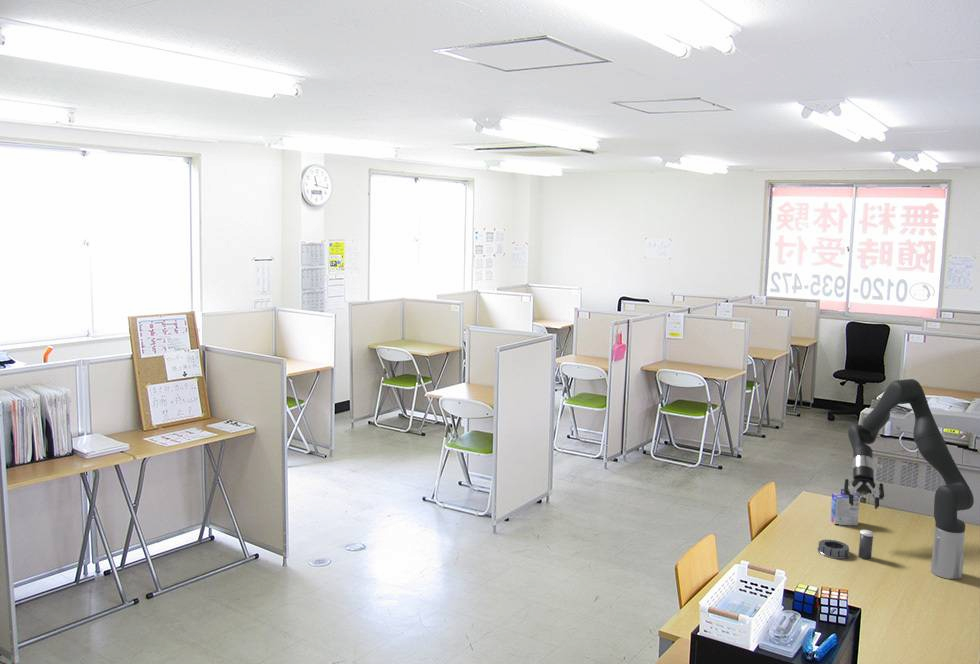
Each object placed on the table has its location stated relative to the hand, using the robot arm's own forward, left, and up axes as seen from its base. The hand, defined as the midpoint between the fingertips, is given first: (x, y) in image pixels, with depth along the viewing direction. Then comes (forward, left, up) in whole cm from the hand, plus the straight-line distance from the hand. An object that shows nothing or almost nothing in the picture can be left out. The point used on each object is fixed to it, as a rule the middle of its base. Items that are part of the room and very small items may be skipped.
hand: (864, 506), depth 304 cm
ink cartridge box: (+4, -23, -16) cm, 28 cm away
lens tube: (0, +12, -16) cm, 20 cm away
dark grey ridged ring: (+11, +12, -16) cm, 23 cm away
